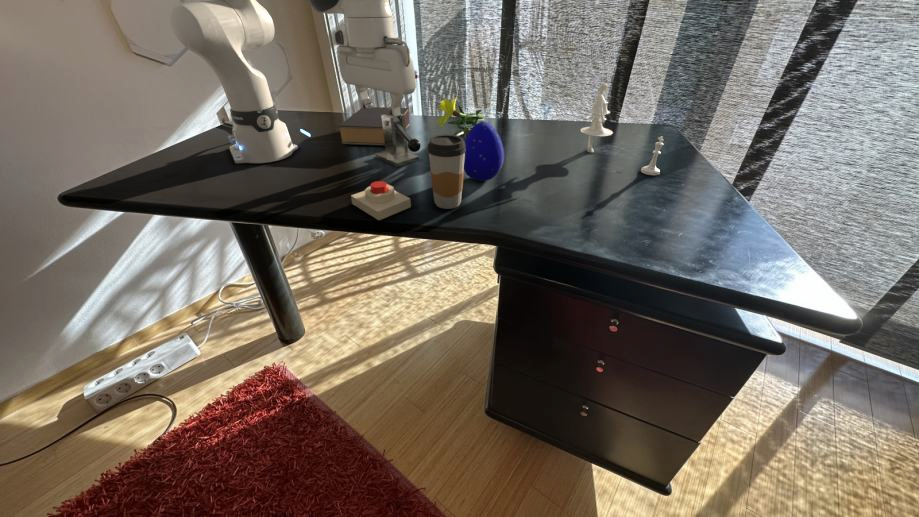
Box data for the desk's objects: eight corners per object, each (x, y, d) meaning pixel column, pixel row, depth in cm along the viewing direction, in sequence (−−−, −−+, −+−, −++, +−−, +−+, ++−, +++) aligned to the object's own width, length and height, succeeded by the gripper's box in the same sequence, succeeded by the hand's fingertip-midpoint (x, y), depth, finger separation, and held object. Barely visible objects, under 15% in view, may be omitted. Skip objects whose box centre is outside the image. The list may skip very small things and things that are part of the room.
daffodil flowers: (508, 135, 131) (489, 137, 99) (473, 154, 136) (444, 161, 105) (488, 91, 128) (462, 78, 96) (453, 112, 133) (418, 106, 102)
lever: (421, 153, 102) (424, 143, 99) (411, 156, 100) (414, 146, 97) (394, 122, 105) (397, 111, 102) (384, 124, 103) (386, 114, 100)
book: (410, 126, 137) (408, 108, 133) (394, 148, 116) (391, 127, 112) (365, 124, 138) (363, 106, 134) (342, 146, 118) (338, 125, 114)
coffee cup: (464, 195, 89) (465, 133, 80) (466, 211, 82) (467, 146, 73) (430, 195, 89) (427, 134, 80) (429, 211, 82) (426, 146, 73)
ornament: (506, 176, 98) (510, 120, 89) (493, 189, 91) (497, 129, 83) (469, 169, 102) (470, 114, 93) (454, 181, 95) (454, 123, 87)
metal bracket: (419, 160, 108) (416, 115, 100) (397, 167, 103) (393, 121, 96) (397, 151, 114) (392, 108, 107) (376, 157, 110) (370, 113, 102)
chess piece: (648, 176, 99) (660, 139, 93) (636, 169, 103) (647, 134, 97) (663, 174, 100) (676, 138, 94) (651, 167, 104) (663, 132, 98)
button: (368, 191, 82) (367, 184, 81) (381, 186, 84) (380, 179, 83) (377, 196, 80) (376, 189, 79) (390, 191, 82) (389, 184, 81)
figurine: (612, 159, 109) (630, 87, 97) (579, 157, 110) (594, 86, 98) (603, 145, 120) (619, 79, 108) (574, 143, 121) (586, 78, 109)
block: (352, 203, 85) (349, 188, 82) (383, 192, 90) (381, 177, 88) (378, 220, 78) (376, 204, 76) (411, 207, 84) (409, 191, 81)
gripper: (420, 37, 65) (425, 117, 73) (353, 32, 76) (364, 102, 84) (393, 39, 61) (401, 123, 69) (327, 34, 72) (341, 107, 80)
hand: (380, 111), depth 76 cm, fingers open, 8 cm apart
